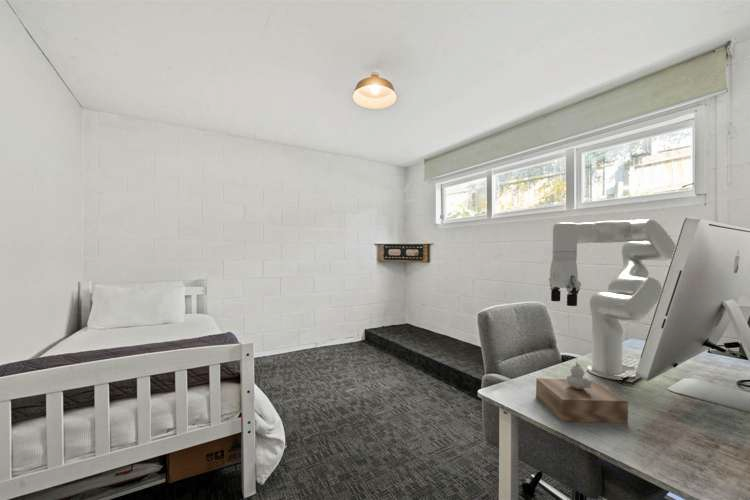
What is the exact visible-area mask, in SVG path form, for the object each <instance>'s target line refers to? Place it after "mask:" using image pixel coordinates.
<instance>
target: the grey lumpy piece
mask: <svg viewBox="0 0 750 500" xmlns="http://www.w3.org/2000/svg"><path fill="white" fill-rule="evenodd" d="M569 371H570V374H569V375H568V376H566V379H567V382H568V384H569V385H570V386H571V387H573V388H575V389H584V388H591V384H592V380H593V379H590V378H588V377H585V371H584V368H583V367H582V366H581V365H580V364H579V363H578V362H577V361H576V362H575V365H572V368H570V369H569Z"/></svg>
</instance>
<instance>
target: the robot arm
mask: <svg viewBox="0 0 750 500" xmlns="http://www.w3.org/2000/svg"><path fill="white" fill-rule="evenodd" d="M610 243H611V244H612V243H613V244H615V243H624V244H623V245H622V247H621V255H622V256H621V257H622V264H623V265H622V268H621V269H620V270H619V272H618V273H617V274H616V275H615V276H614V277H613V278H612V279H611V281H610V283H609V284H608V286H607V291H601V292H599V291H598V292H595V293H594V294H592V295H591V297H590V299H589V309H590V313H591V321H592V324H591V325H592V331H591V333H592V335H591V336H592V338H591V364H589V365H587V366H586V370H587V372H589V373H590V374H592V375H595V376H597V377H600V378H604V379H608V380H616V381H623V379H622V378H621V377H617V376H614V375H619V374H622V373H626V372H627V371H629V372H633V371H636V367H635V366H634V365H629V364H628V365H627V364H625V363H623V361H624V360H623V358H624V357H623V355H624V354H623V349H624V348H623V346H624V345H623V344H624V343H623V342H624V330H623V326H622V324H621V322H620V320H621V321H625V322H631V323H639V322H641V321H642V320H644V319H645V318H646V317H647V316H648V314H649V313H650V312H651V311H652V309H653V308H654V307H655V305H656V304H657V303H658V302H659V300H660V298H659V296H660V293H661V294H662V292H661V290H662V284H661V283H660V281H659V280H657V279H656V278H653V277H650V276H649V271H648V269H647V267H646V266H645V264H644V263H643V262H642V261H669V260H672V259H673V258H672V255H673V252H674V249H675V246H676V243H675V241H674V240H673V239H672V237H671V236H670V234H668V232H667V231H666V230H665V229H664V227H663V226H662V225H661V224H660V223H659V222H657V221H656V220H654V219H651V218H647V219H646V218H645V219H634V220H633V219H629V220H603V221H595V222H580V223H579V222H578V223H576V222H571V221H570V222H565V221H564V222H557V223H554V225H553V227H552V257H551V258H552V260H551V264H550V270H549V271H550V272H549V278H548V281H549V286H550V290H551V293H550V295H551V296H550V301H551V302H561V292H562V291H561V289H566V292H567V293H568V294H567V293H566V306H567V307H577V306H578V295H579V292H580V290H581V289H580V288H581V285H582V283H581V281H579V278H578V277H579V275H578V263H577V261H578V260H577V256H578V253H577V252H578V244H610ZM660 297H661V296H660ZM658 299H659V300H658Z"/></svg>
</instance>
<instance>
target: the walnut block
mask: <svg viewBox="0 0 750 500" xmlns="http://www.w3.org/2000/svg"><path fill="white" fill-rule="evenodd" d="M591 380H592V384H591V388H584V389H575V388H573V387H571V386H570V385H569V384H568V382H567V378H545V377H544V378H540V377H539V378H536V381H535V383H536V385H535V389H536V390H535V398H537V399H538V400H539V402H540V403H542V404H543V405H544V406H545V407H546V408H548V409H549V411H551V412H552V413H553V414H554V415H555V416H556V417H557V419H559V420H560V421H561V422H576V423H577V422H578V423H579V422H585V423H586V422H587V423H613V424H615V423H616V424H617V423H618V424H619V423H620V424H621V423H622V424H628V423H629V419H628V418H629V401H628V400H627V399H625V398H624V397H622V396H620V395H619V394H617V393H615V392H614V391H612V390H610V389H609V388H607V387H605V386H604V385H603V384H600V383H598V381H596V380H594V379H591Z"/></svg>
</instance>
